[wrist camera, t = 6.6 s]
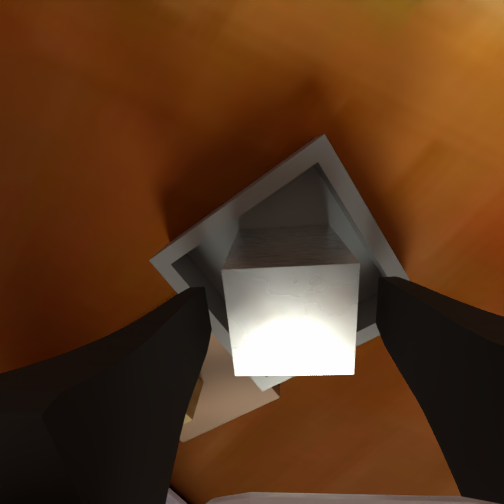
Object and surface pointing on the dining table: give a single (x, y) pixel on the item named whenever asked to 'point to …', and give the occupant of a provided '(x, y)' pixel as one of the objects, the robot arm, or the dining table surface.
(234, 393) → the stud plate
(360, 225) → the bin
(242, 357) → the grey block
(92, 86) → the dining table surface
